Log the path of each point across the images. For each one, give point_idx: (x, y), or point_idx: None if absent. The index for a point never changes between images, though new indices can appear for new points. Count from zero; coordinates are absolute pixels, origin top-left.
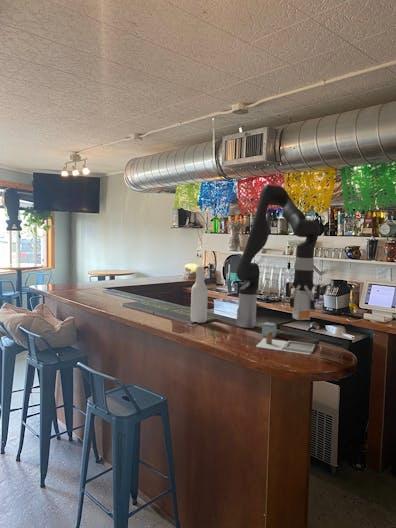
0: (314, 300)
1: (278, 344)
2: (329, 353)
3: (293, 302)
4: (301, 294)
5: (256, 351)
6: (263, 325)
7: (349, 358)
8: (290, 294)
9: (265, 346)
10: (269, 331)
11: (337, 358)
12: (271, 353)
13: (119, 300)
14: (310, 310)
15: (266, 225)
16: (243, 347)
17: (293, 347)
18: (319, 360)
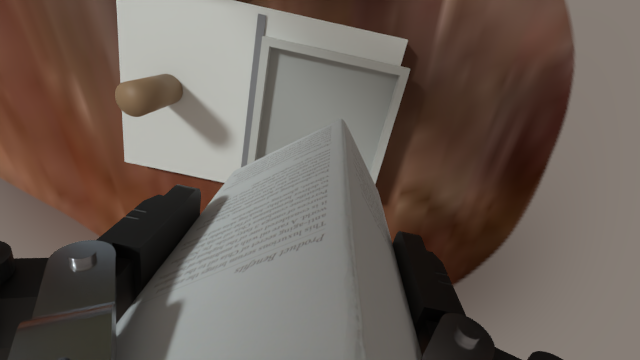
0: None
1: (216, 93)
2: (465, 111)
3: (172, 257)
4: None
5: (144, 172)
6: None
7: (536, 163)
8: (25, 313)
9: (164, 148)
10: (128, 84)
11: (478, 177)
12: (206, 182)
13: None
14: (389, 234)
15: None
16: (76, 130)
17: (291, 134)
18: (392, 219)
